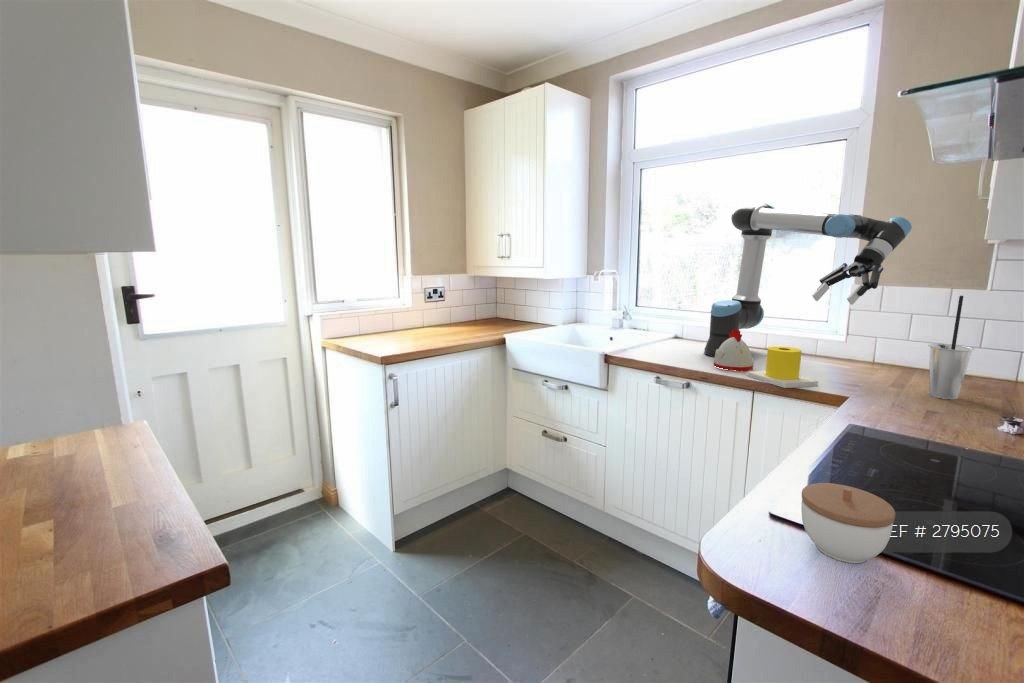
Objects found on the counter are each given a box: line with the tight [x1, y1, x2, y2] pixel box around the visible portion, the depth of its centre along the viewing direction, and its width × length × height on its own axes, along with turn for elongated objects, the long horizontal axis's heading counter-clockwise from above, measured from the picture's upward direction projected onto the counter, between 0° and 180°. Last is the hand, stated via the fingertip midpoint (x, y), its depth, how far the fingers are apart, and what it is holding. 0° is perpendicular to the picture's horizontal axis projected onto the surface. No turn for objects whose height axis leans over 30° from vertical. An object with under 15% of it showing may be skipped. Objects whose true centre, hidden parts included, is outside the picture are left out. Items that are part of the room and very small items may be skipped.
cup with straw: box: [927, 295, 975, 401], centre depth 139 cm, size 11×11×30 cm
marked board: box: [747, 370, 819, 389], centre depth 161 cm, size 17×13×2 cm
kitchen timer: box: [713, 329, 754, 372], centre depth 181 cm, size 14×14×15 cm
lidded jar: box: [801, 482, 896, 564], centre depth 66 cm, size 11×11×9 cm
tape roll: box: [765, 346, 802, 380], centre depth 160 cm, size 10×10×9 cm
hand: (831, 300), depth 161 cm, fingers open, 13 cm apart
